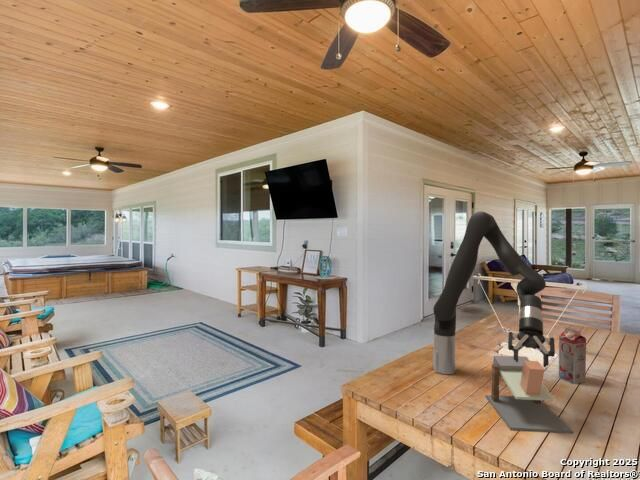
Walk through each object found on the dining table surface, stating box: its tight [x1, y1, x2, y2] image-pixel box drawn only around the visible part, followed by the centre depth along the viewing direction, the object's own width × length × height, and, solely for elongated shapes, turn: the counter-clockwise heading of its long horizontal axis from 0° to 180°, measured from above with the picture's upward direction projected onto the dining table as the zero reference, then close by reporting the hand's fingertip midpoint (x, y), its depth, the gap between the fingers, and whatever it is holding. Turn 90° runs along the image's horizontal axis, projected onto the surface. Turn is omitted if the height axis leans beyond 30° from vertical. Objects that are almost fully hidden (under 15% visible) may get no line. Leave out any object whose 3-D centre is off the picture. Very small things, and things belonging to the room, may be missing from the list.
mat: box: [484, 394, 574, 434], centre depth 122 cm, size 19×22×1 cm
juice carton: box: [558, 326, 587, 385], centre depth 148 cm, size 7×7×22 cm
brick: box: [520, 360, 545, 395], centre depth 117 cm, size 4×4×10 cm
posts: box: [490, 363, 542, 404], centre depth 129 cm, size 17×2×14 cm, turn 84°
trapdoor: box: [492, 355, 555, 402], centre depth 125 cm, size 20×12×5 cm, turn 174°
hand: (530, 363), depth 116 cm, fingers open, 7 cm apart
